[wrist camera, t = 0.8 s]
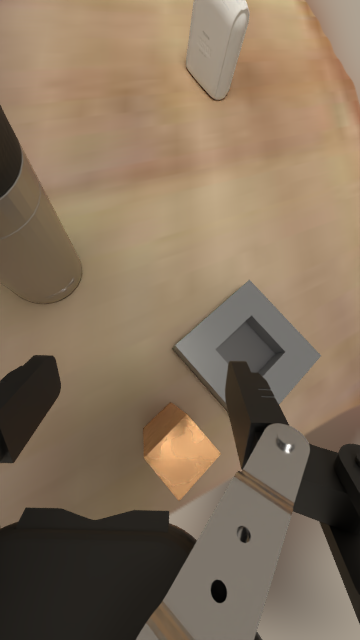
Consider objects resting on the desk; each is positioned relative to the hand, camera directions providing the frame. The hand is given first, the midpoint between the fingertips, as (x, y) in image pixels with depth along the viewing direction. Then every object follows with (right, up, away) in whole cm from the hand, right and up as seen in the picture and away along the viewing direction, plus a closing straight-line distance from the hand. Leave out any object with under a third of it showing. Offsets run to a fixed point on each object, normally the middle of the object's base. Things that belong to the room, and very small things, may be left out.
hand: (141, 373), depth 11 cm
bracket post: (0, -11, +19) cm, 22 cm away
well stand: (+10, -2, +23) cm, 25 cm away
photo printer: (+7, +48, +35) cm, 60 cm away
